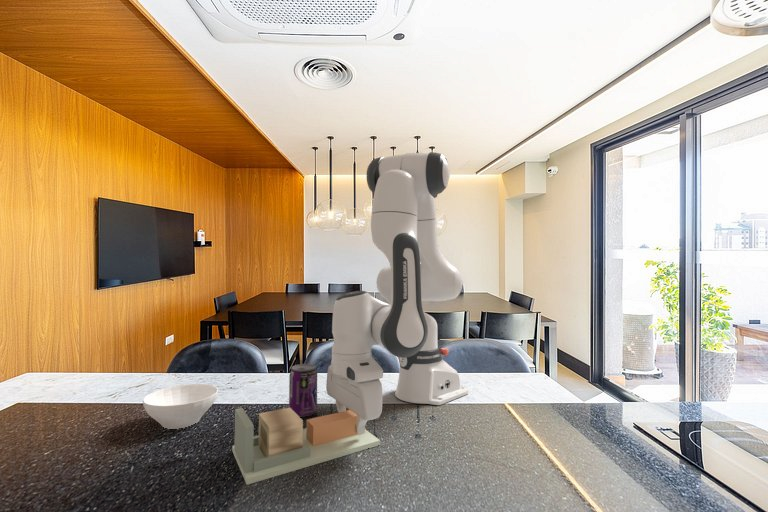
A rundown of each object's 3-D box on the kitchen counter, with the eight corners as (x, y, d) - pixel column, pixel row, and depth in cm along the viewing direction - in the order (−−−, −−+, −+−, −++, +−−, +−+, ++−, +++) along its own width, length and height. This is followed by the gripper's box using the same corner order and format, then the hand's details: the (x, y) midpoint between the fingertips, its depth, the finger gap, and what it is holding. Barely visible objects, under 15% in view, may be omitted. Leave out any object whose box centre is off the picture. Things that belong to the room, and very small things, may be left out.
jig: (350, 421, 88) (350, 384, 89) (379, 445, 77) (380, 401, 77) (232, 450, 74) (233, 406, 74) (246, 484, 62) (247, 431, 63)
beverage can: (310, 420, 89) (310, 371, 90) (283, 418, 91) (284, 369, 91) (321, 409, 96) (321, 364, 97) (296, 407, 98) (296, 362, 98)
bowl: (228, 422, 88) (229, 393, 88) (153, 445, 76) (154, 411, 76) (203, 406, 99) (203, 380, 99) (133, 423, 87) (134, 394, 87)
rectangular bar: (355, 426, 84) (356, 408, 84) (364, 432, 80) (364, 414, 80) (306, 438, 77) (306, 419, 77) (313, 446, 74) (313, 426, 74)
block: (289, 438, 77) (290, 407, 78) (302, 454, 71) (302, 420, 71) (258, 445, 74) (258, 413, 74) (268, 463, 67) (269, 427, 67)
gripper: (320, 356, 88) (319, 414, 87) (361, 376, 71) (360, 448, 70) (343, 353, 92) (343, 408, 91) (387, 371, 74) (387, 440, 74)
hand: (351, 426), depth 80 cm, fingers open, 7 cm apart
